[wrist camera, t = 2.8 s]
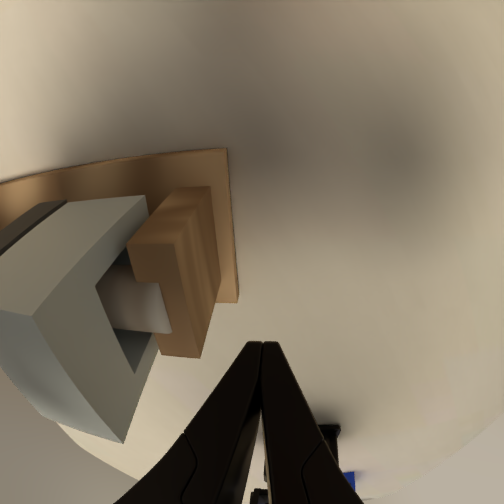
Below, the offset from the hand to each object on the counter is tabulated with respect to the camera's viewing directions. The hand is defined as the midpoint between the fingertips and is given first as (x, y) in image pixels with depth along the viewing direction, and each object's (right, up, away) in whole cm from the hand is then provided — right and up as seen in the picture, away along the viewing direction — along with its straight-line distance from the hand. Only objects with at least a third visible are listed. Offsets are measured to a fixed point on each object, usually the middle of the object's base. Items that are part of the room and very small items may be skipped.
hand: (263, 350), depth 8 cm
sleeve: (-6, +2, +5) cm, 8 cm away
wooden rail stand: (-11, +4, +8) cm, 14 cm away
